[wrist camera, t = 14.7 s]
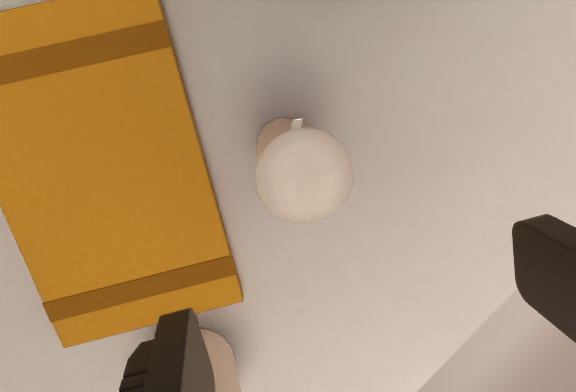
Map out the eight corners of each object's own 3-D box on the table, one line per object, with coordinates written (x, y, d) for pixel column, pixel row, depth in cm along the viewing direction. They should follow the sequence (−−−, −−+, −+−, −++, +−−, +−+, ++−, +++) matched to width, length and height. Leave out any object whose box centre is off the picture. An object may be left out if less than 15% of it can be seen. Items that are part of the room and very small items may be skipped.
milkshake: (309, 85, 28) (353, 106, 19) (324, 169, 30) (371, 226, 21) (236, 102, 28) (243, 130, 19) (255, 185, 30) (270, 250, 20)
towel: (68, 339, 31) (62, 349, 30) (-69, 29, 25) (-81, 28, 24) (243, 294, 32) (243, 302, 31) (154, -20, 26) (151, -23, 25)
